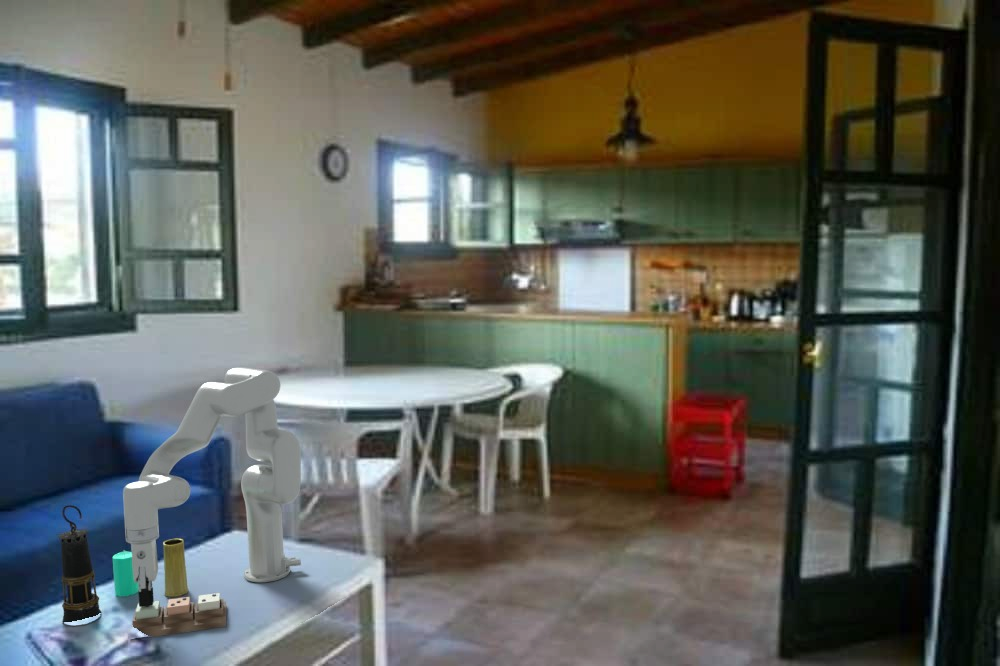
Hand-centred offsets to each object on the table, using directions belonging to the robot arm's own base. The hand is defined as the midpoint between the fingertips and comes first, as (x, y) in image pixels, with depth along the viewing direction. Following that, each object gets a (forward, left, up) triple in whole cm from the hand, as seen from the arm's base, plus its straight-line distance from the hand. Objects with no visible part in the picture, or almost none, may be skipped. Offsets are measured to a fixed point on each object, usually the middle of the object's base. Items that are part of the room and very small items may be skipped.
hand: (146, 604), depth 217 cm
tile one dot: (0, 0, -3) cm, 3 cm away
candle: (+8, -25, -6) cm, 27 cm away
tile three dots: (-7, 0, -3) cm, 8 cm away
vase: (-5, -20, -6) cm, 22 cm away
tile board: (-7, 0, -6) cm, 9 cm away
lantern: (+17, -11, -6) cm, 21 cm away
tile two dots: (-15, 0, -3) cm, 15 cm away
